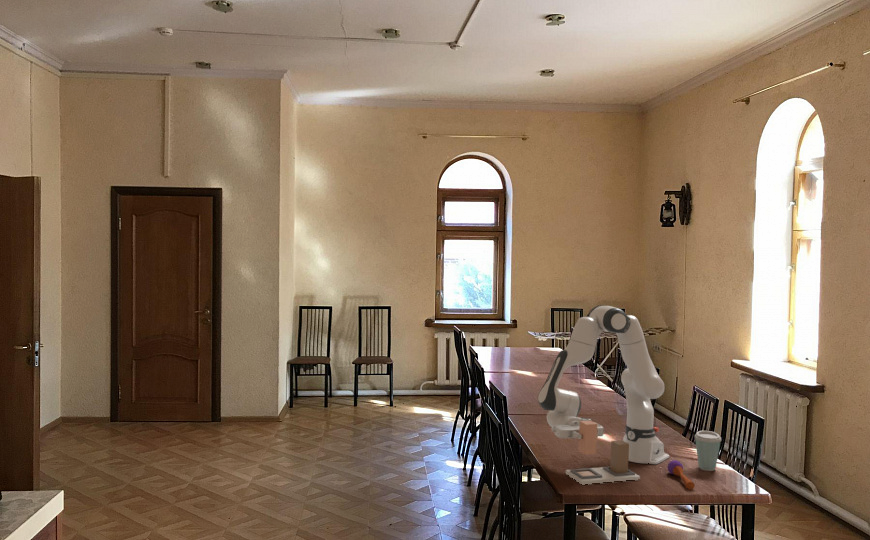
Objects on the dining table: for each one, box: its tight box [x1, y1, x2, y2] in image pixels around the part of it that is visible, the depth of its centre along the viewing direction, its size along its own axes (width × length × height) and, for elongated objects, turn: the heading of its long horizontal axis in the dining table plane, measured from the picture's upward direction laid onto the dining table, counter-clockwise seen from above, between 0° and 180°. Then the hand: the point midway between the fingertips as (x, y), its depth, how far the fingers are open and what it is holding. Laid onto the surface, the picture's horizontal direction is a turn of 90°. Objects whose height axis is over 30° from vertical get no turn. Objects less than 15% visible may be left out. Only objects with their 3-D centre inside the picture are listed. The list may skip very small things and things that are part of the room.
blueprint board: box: [565, 439, 641, 486], centre depth 278 cm, size 26×13×14 cm, turn 108°
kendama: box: [667, 459, 696, 490], centre depth 278 cm, size 6×6×20 cm
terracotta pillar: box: [577, 420, 598, 456], centre depth 275 cm, size 5×5×12 cm
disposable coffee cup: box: [694, 430, 722, 472], centre depth 293 cm, size 11×11×15 cm
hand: (589, 436), depth 274 cm, fingers closed on terracotta pillar, 5 cm apart
